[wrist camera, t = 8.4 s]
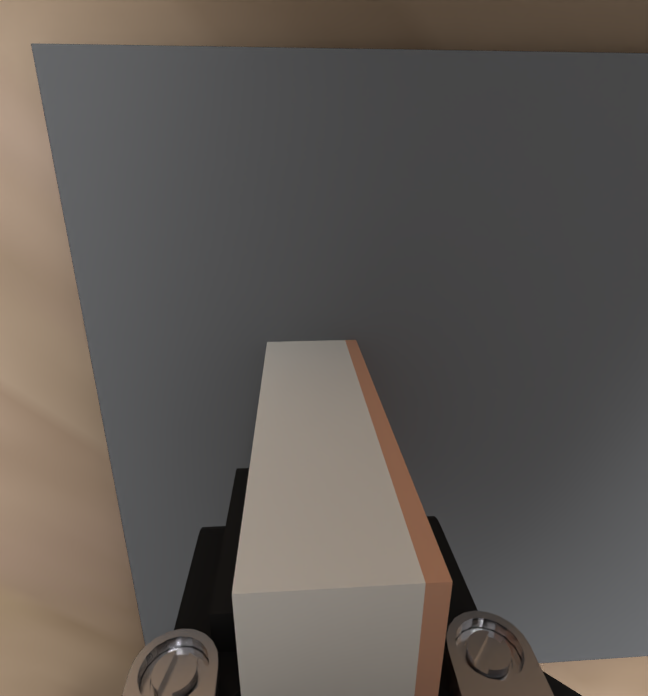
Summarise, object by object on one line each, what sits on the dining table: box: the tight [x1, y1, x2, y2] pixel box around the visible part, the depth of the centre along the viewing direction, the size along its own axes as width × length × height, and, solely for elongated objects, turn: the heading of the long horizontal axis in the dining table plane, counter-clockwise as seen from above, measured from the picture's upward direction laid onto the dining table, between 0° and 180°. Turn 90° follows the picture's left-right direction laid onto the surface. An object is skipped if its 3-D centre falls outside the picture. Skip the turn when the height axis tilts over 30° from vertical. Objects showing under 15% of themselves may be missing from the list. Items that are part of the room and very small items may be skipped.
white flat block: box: [232, 340, 453, 696], centre depth 10 cm, size 7×2×8 cm, turn 0°
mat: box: [31, 44, 648, 663], centre depth 14 cm, size 20×20×1 cm
